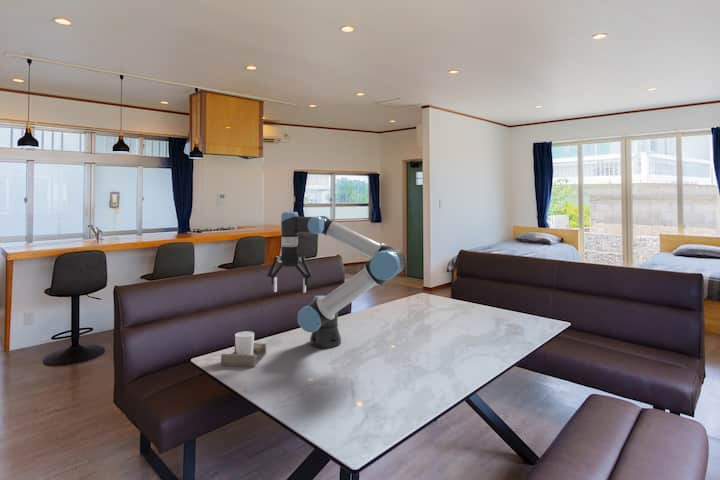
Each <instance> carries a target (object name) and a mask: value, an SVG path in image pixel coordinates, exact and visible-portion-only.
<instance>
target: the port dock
mask: <svg viewBox="0 0 720 480" xmlns="http://www.w3.org/2000/svg"><path fill="white" fill-rule="evenodd" d="M266 355H267V343H260V342H259V343H255V342H254V348H253V355H237V354H236V344H235V343H234V350H233V352H232V353H222V354H220V364H221V367H240V368H255V367H256V366H257V365H258V364H259V362H260V361H261V360H262V359H263V358H264V357H265V356H266Z"/></svg>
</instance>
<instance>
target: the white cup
mask: <svg viewBox="0 0 720 480" xmlns="http://www.w3.org/2000/svg"><path fill="white" fill-rule="evenodd" d="M234 341H235V342H234V345H235V344H236V354H237V355H253V348H254V343H255V332H253V331H245V330H244V331H239V332H236V333H235V334H234Z"/></svg>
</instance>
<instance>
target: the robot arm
mask: <svg viewBox="0 0 720 480" xmlns="http://www.w3.org/2000/svg"><path fill="white" fill-rule="evenodd" d="M298 213H299V212H298V211H283V212H282V213H281V215H280V217H281V219H280V223H281V224H280V227H281V232H280V233H281V239H280V240H281V241H280V242H281V243H280V245H281V248H280V249H281V253H280V254H281V255H280V256H278V255H276V256H274V259H273V262H272V264H271V266H270V268H269V271H268V272H267V277H270V278H271V286H272V285H273V293H276V292H278V277H277V275H278V274H279V272H280V271H281V270H282V269H283V268H284V267H295V268H296V269H297V271H299V273H300V275H302V276H303V277H304V278H303V279H302V293H303V294H305V293H307V286H309V278H311V277H313V274H312V272H311V269H310V267H309V266H308V263H307V261H306V256H299V247H298V245H299V234H308V235H309V234H311V235H318V234H320V235H321V234H322V235H324V236H327V237H329V238H330V239H332V240H335V241H336V242H339V243H341V244H342V245H344V246H346V247H348V248H350V249H352V250H355V251H356V252H359V253H361V254H363V255H364V256H367V257H368V258H370V259H369V260H368V261H366V262H365V263H364V265H363V266H364V267H363V269H360V271H359V272H356V274H354V275H353V276H352V277H350V278H349V279H347V280H346V281H345V282H344V283H342V284H340V286H338V287H337V288H335V289H333V290H332V291H331V292H329V293H328V294H327V295H314V296H313V300H312V301H311V302H310V303H308V304H307V305H305V306H303V307H301V309H300V310H299V311H298V313H297V323H298V326H299V327H300V329H301V330H303V331H305V332H307V333H310V334H311V335H310V337H309V345H311V346H312V347H314V348H318V349H319V348H320V349H329V348H336V347H338V346H340V345H342V337H341V334H340V331H339V327H338V325H339V324H338V322H339V321H338V319H339V318H338V316H339V311H341V310H342V309H343V308H345V307H346V306H348V305H350V304H351V303H352V302H354V301H355V300H356V299H358V298H359V297H360V296H362V295H364V294H365V293H366V292H368V291H369V290H371V289H372V288H373V287H375V286H382V285H384V284H386V283H387V282H388V281H389V280H391V279H393V278H395V277H396V276H397V275H398V274H400V273H402V272H403V270H404V269H405V266H406V261H407V260H406V256H405V255H404V253H403V252H402V251H401V250H400V249H398V248H395V247H393V246H391V245H389V244H386V243H384V242H383V243H380V242H376V241H375V240H373V239H370V238H369V237H367V236H365V235H362V234H360V233H358V232H357V231H354V230H352V229H350V228H348V227H346V226H344V225H342V224H340V223H337V222H336V221H333V220H332V219H331V218H330V217H329V216H326V215H319V216H300V215H299V214H298ZM279 261H280V262H282V263H281V264H280V265H279V266H278V267H277V268H276V266H277V264H278V262H279ZM299 261H300V263H301V264H302V266H303V267H302V266H301V265H300V263H299ZM275 268H276V270H275ZM303 268H304V269H303Z"/></svg>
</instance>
